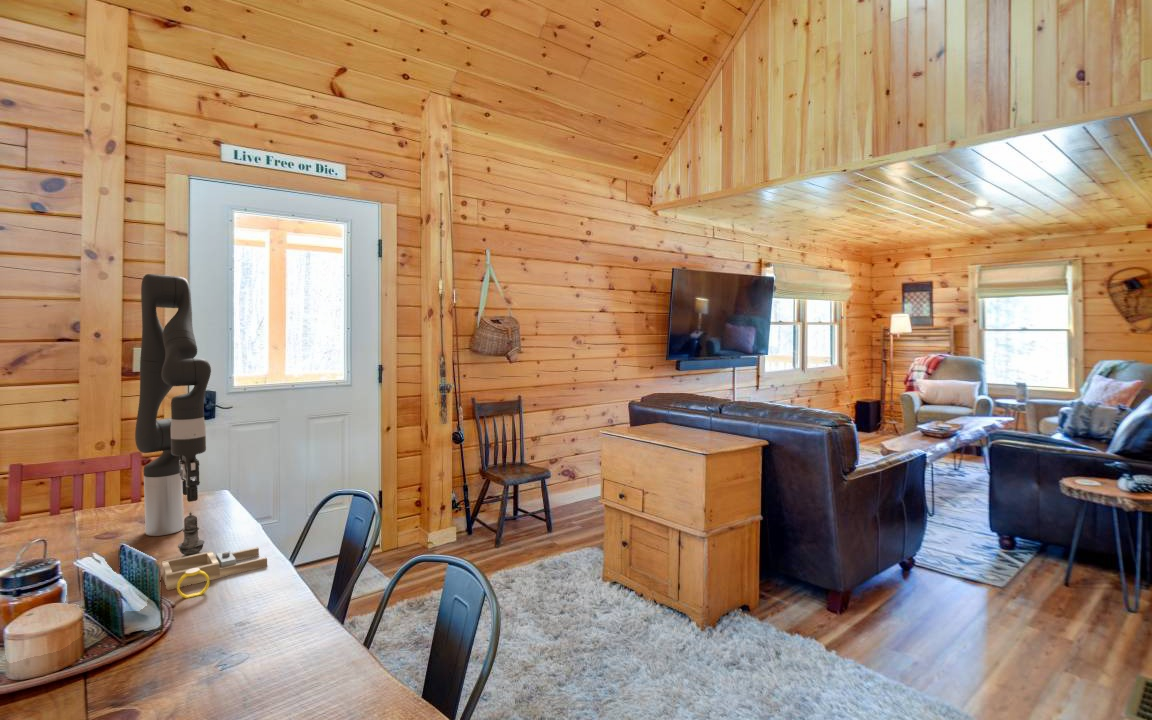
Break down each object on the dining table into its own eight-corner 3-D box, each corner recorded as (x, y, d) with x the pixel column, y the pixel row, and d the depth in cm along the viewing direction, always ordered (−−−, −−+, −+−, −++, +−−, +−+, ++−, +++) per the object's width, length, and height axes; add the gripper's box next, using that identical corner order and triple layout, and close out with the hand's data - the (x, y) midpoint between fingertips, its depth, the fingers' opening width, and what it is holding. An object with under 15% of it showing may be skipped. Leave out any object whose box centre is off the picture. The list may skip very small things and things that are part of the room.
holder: (161, 575, 139) (161, 561, 139) (257, 554, 153) (257, 541, 153) (167, 590, 131) (166, 575, 131) (267, 566, 145) (267, 552, 145)
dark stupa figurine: (191, 562, 147) (190, 516, 146) (172, 560, 148) (171, 515, 148) (210, 553, 153) (209, 509, 152) (191, 552, 154) (190, 508, 153)
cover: (216, 565, 145) (216, 550, 145) (230, 562, 147) (229, 547, 147) (222, 574, 140) (221, 559, 140) (236, 571, 142) (235, 555, 142)
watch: (179, 603, 126) (175, 577, 126) (178, 598, 128) (175, 572, 128) (211, 593, 130) (208, 568, 129) (209, 589, 132) (206, 564, 132)
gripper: (210, 437, 146) (211, 501, 147) (200, 429, 157) (202, 489, 158) (174, 441, 141) (176, 507, 142) (167, 433, 152) (169, 494, 153)
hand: (190, 497), depth 150 cm, fingers open, 7 cm apart
